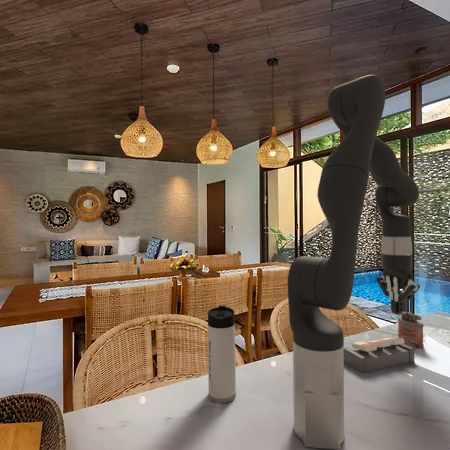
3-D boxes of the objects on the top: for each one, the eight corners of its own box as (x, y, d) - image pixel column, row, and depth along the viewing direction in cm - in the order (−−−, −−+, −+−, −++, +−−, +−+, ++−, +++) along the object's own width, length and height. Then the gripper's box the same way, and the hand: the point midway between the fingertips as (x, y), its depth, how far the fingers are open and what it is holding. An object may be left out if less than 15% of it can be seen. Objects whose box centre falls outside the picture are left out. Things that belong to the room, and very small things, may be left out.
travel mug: (236, 388, 74) (235, 305, 74) (234, 404, 68) (233, 313, 67) (210, 387, 75) (209, 305, 75) (206, 403, 68) (205, 313, 68)
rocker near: (361, 345, 89) (361, 340, 89) (377, 349, 84) (376, 344, 84) (352, 347, 88) (351, 342, 88) (367, 351, 82) (366, 346, 83)
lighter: (395, 340, 102) (395, 310, 102) (402, 338, 104) (401, 309, 103) (419, 349, 95) (419, 317, 95) (426, 347, 96) (426, 315, 96)
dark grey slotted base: (392, 351, 94) (391, 338, 94) (414, 361, 87) (414, 347, 87) (342, 360, 88) (342, 346, 88) (362, 372, 81) (361, 357, 81)
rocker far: (389, 342, 92) (387, 337, 92) (404, 343, 87) (403, 338, 87) (380, 343, 91) (379, 339, 91) (395, 344, 86) (394, 339, 86)
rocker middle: (375, 344, 90) (374, 339, 91) (391, 345, 85) (389, 340, 86) (366, 346, 89) (365, 341, 89) (381, 347, 84) (380, 342, 84)
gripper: (368, 251, 92) (368, 308, 92) (407, 255, 79) (407, 322, 80) (387, 249, 94) (387, 306, 95) (428, 254, 82) (428, 318, 82)
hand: (397, 313), depth 87 cm, fingers closed
